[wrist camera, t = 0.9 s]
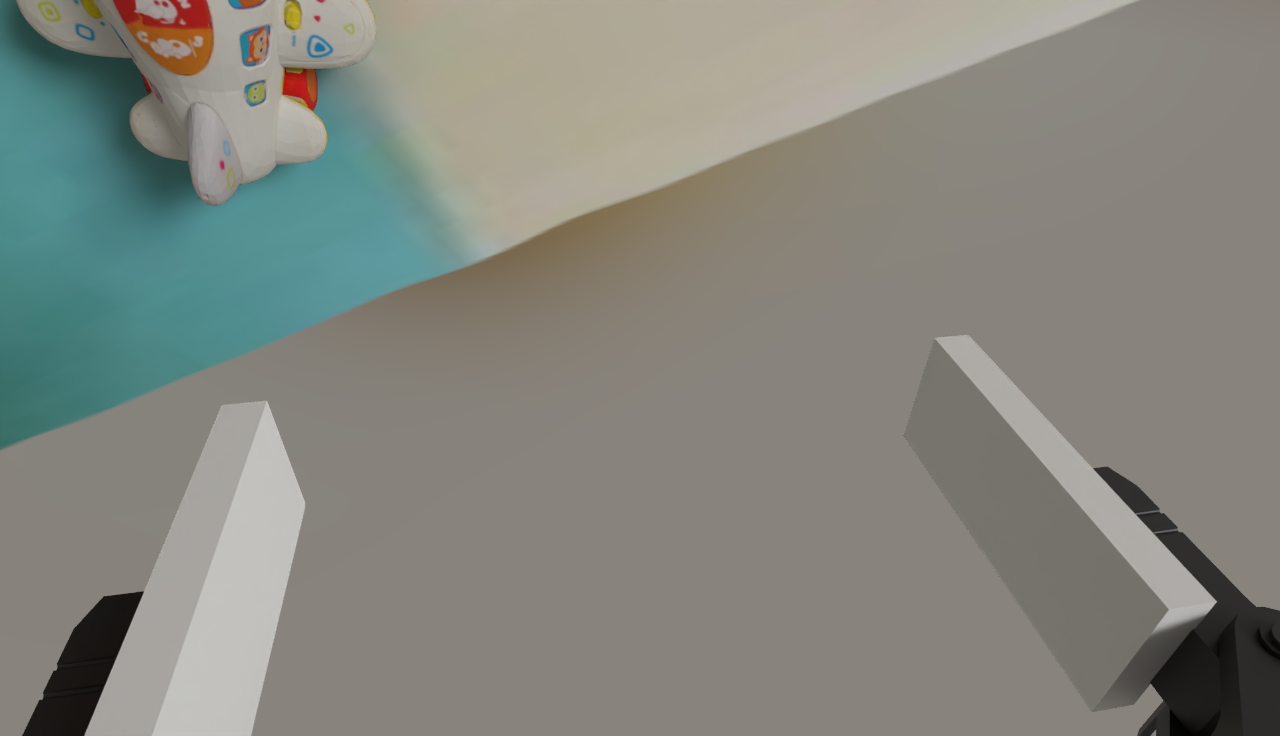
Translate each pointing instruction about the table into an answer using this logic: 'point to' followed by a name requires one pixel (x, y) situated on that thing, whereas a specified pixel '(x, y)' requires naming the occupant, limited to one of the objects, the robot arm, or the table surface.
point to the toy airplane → (219, 74)
